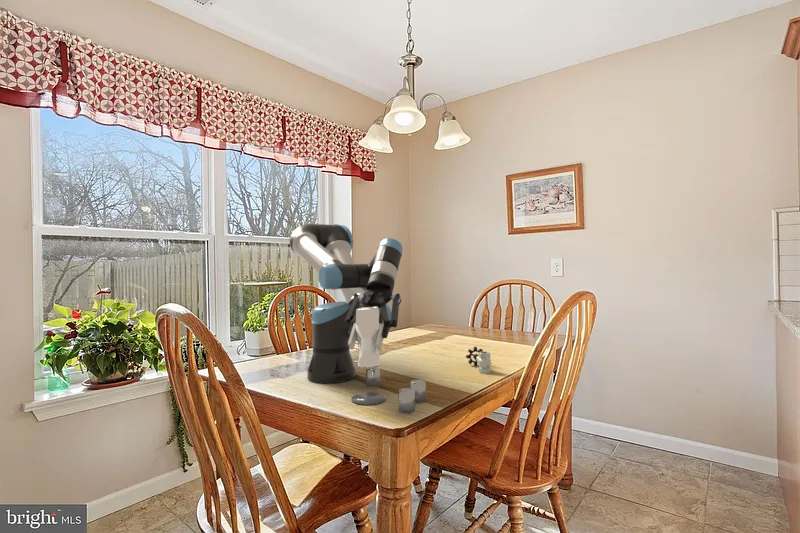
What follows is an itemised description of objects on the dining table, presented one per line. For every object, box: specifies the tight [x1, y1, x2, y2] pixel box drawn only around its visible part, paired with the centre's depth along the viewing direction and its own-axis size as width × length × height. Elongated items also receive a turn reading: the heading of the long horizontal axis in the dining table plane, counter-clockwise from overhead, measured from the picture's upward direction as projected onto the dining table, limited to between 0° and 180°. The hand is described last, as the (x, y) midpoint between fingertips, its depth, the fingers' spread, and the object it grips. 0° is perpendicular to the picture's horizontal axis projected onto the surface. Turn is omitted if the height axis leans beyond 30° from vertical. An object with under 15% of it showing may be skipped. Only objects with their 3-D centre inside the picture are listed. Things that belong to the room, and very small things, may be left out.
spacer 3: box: [409, 379, 427, 404], centre depth 115 cm, size 4×4×5 cm
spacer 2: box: [397, 387, 416, 415], centre depth 107 cm, size 4×4×5 cm
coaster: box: [350, 391, 386, 406], centre depth 116 cm, size 9×9×1 cm
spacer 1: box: [365, 366, 381, 388], centre depth 130 cm, size 4×4×5 cm
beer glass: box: [355, 307, 382, 369], centre depth 116 cm, size 7×7×15 cm
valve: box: [465, 346, 492, 375], centre depth 147 cm, size 7×7×12 cm
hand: (364, 346), depth 112 cm, fingers closed on beer glass, 7 cm apart
